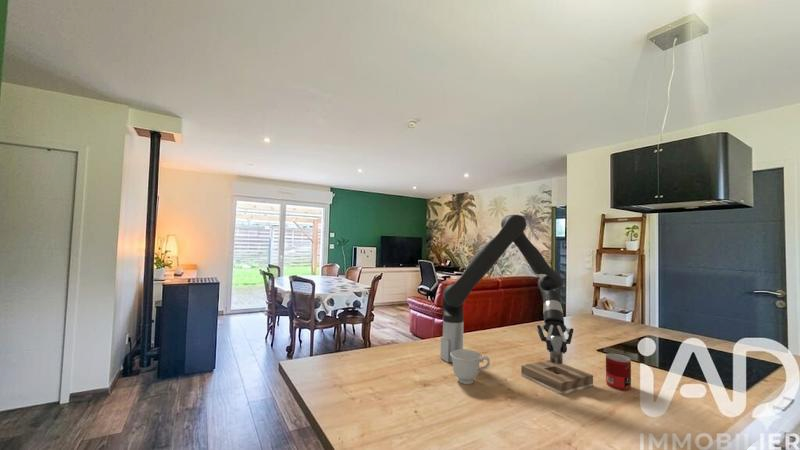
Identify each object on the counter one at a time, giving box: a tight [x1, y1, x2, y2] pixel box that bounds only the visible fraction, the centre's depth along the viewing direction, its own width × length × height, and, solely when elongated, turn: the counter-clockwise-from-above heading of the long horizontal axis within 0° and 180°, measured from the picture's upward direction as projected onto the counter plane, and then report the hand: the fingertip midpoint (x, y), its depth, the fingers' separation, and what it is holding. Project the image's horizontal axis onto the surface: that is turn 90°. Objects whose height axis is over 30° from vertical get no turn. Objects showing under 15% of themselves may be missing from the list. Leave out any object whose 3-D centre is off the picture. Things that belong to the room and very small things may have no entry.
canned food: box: [605, 353, 632, 391], centre depth 126 cm, size 8×8×11 cm
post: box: [549, 334, 564, 364], centre depth 130 cm, size 4×4×10 cm
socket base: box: [520, 359, 594, 396], centre depth 129 cm, size 18×18×4 cm
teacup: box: [450, 348, 491, 385], centre depth 127 cm, size 12×15×10 cm
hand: (557, 351), depth 128 cm, fingers closed on post, 4 cm apart
